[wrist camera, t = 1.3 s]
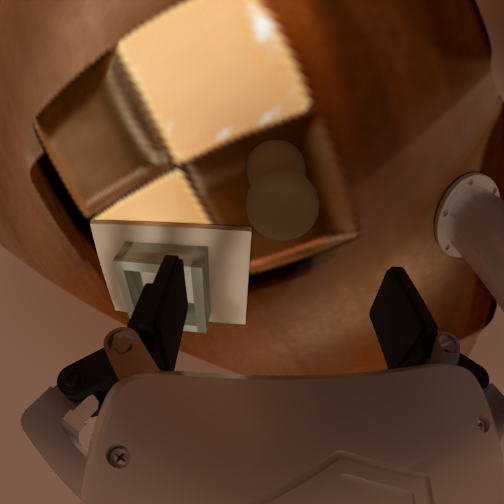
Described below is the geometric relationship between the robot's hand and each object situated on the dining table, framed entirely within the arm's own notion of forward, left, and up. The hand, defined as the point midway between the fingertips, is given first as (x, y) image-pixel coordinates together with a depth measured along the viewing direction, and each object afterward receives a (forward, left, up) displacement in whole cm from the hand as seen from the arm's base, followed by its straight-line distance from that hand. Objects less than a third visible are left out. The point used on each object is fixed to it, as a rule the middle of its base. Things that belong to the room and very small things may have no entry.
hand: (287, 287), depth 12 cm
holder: (+12, +15, -18) cm, 26 cm away
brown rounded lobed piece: (0, 0, -18) cm, 18 cm away
